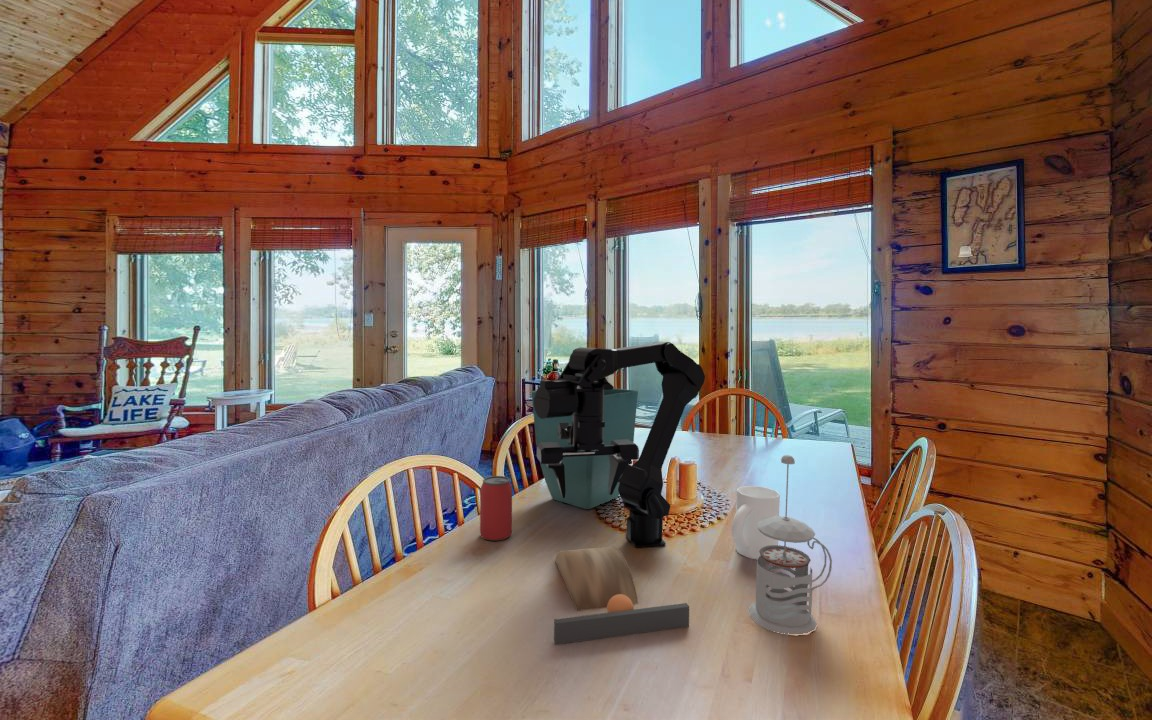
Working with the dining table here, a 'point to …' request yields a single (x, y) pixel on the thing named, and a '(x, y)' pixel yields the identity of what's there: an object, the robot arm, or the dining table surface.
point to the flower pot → (591, 472)
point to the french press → (785, 575)
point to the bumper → (620, 623)
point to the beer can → (496, 508)
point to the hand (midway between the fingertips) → (587, 495)
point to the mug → (753, 519)
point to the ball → (619, 603)
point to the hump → (595, 576)
